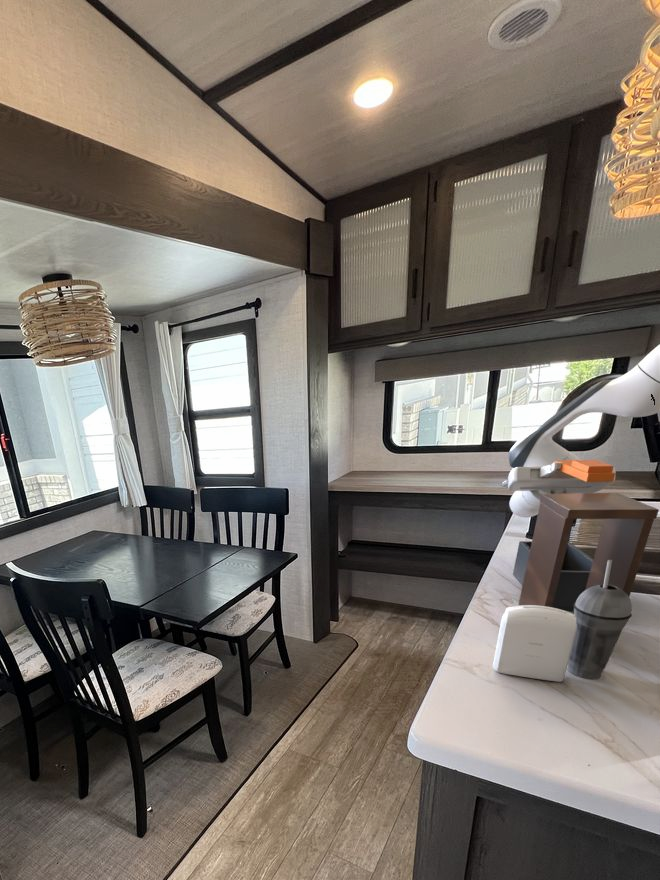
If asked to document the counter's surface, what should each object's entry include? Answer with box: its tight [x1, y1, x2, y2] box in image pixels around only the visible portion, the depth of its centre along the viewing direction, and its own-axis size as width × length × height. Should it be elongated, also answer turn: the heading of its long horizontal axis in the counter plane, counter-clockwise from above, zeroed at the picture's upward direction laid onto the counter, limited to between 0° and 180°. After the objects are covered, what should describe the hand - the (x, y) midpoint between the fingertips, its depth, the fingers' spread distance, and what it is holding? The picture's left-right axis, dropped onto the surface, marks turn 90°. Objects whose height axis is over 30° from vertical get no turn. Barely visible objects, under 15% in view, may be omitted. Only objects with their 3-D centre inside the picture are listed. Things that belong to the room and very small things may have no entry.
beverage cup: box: [566, 560, 633, 680], centre depth 75 cm, size 7×7×20 cm
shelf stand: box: [517, 492, 660, 607], centre depth 85 cm, size 12×13×26 cm
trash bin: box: [512, 540, 594, 612], centre depth 106 cm, size 11×22×9 cm, turn 164°
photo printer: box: [492, 605, 577, 683], centre depth 77 cm, size 10×4×12 cm, turn 63°
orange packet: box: [554, 459, 617, 483], centre depth 97 cm, size 18×4×3 cm, turn 163°
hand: (574, 464), depth 101 cm, fingers closed on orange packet, 4 cm apart
